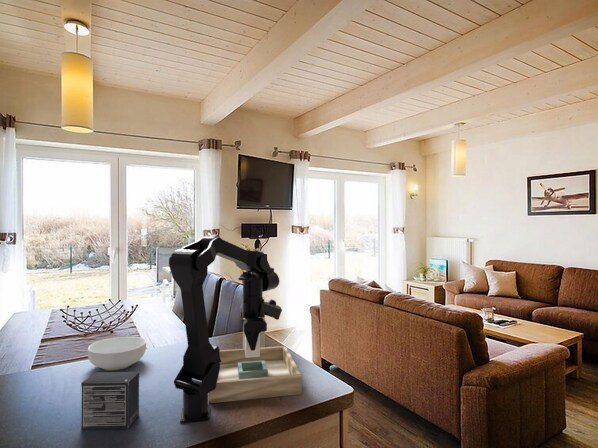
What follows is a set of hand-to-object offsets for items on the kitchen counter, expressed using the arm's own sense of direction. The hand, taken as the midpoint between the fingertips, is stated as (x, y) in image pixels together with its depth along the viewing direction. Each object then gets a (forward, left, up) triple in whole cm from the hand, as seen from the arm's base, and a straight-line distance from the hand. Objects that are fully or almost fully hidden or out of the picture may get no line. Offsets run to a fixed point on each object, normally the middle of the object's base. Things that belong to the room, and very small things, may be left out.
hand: (252, 347), depth 106 cm
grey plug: (0, 0, -2) cm, 2 cm away
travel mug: (+27, -3, -9) cm, 29 cm away
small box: (-16, +33, -10) cm, 38 cm away
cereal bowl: (+19, +41, -10) cm, 46 cm away
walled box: (0, 0, -9) cm, 9 cm away
